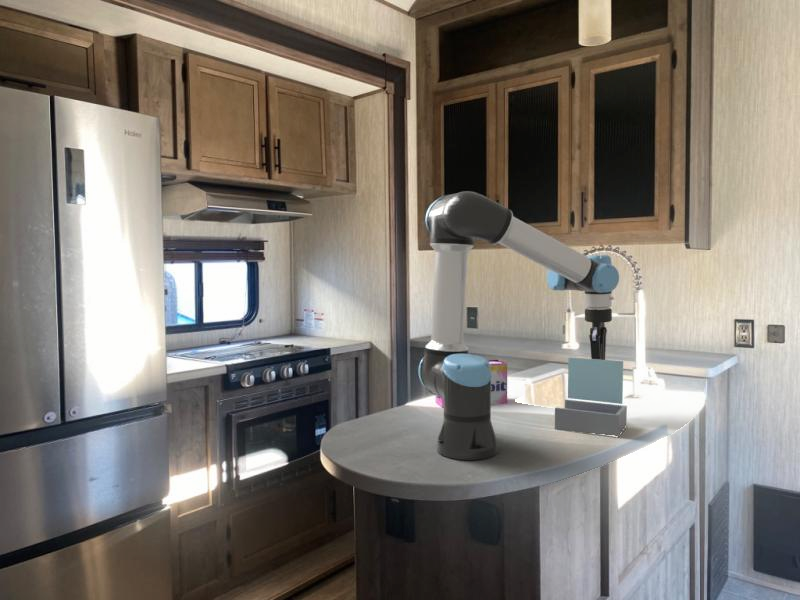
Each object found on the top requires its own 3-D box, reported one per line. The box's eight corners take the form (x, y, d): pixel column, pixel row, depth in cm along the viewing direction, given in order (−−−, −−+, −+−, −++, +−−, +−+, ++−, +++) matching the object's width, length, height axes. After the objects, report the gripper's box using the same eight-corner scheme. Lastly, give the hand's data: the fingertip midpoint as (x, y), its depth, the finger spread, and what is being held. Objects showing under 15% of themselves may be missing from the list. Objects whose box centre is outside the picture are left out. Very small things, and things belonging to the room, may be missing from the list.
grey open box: (618, 437, 159) (618, 415, 159) (554, 429, 168) (554, 408, 167) (626, 426, 169) (626, 405, 169) (565, 419, 178) (565, 399, 177)
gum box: (438, 408, 192) (437, 366, 191) (431, 403, 200) (430, 362, 199) (508, 403, 198) (508, 362, 197) (498, 398, 206) (498, 358, 205)
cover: (622, 361, 170) (623, 361, 170) (568, 357, 177) (569, 357, 178) (621, 403, 170) (622, 403, 171) (567, 398, 178) (568, 397, 178)
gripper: (607, 310, 169) (607, 393, 171) (615, 305, 180) (615, 383, 182) (579, 310, 172) (580, 391, 175) (589, 305, 184) (590, 381, 186)
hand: (598, 387), depth 178 cm, fingers closed
